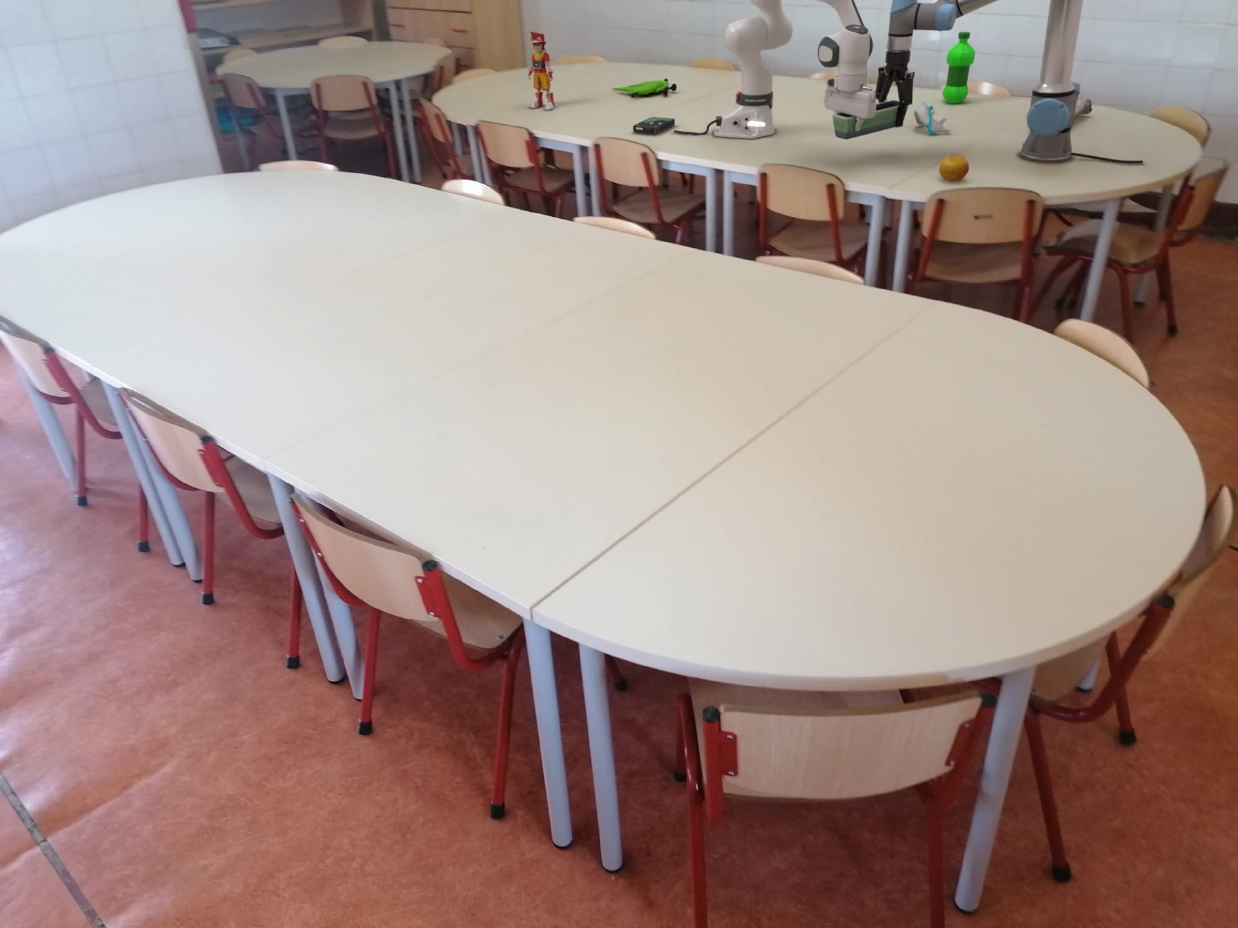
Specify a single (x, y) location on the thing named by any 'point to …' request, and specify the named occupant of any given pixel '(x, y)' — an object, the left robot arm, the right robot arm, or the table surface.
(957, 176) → the fruit
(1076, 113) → the rolled mat
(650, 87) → the toy
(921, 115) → the anatomical model
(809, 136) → the table surface
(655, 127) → the disk drive
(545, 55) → the toy
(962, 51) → the plastic bottle
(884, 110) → the planter
